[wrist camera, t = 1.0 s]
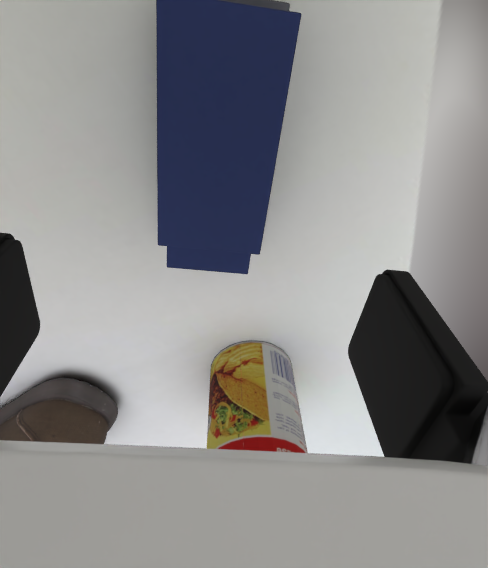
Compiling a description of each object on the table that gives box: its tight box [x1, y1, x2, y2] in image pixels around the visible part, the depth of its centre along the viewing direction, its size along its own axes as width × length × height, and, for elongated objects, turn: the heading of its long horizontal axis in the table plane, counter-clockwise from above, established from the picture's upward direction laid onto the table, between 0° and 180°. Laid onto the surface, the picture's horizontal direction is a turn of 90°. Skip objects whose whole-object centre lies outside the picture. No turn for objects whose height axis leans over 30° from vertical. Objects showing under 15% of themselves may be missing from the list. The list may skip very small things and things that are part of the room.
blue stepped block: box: [156, 0, 301, 274], centre depth 21 cm, size 15×6×7 cm, turn 173°
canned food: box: [207, 341, 307, 453], centre depth 32 cm, size 8×8×12 cm
